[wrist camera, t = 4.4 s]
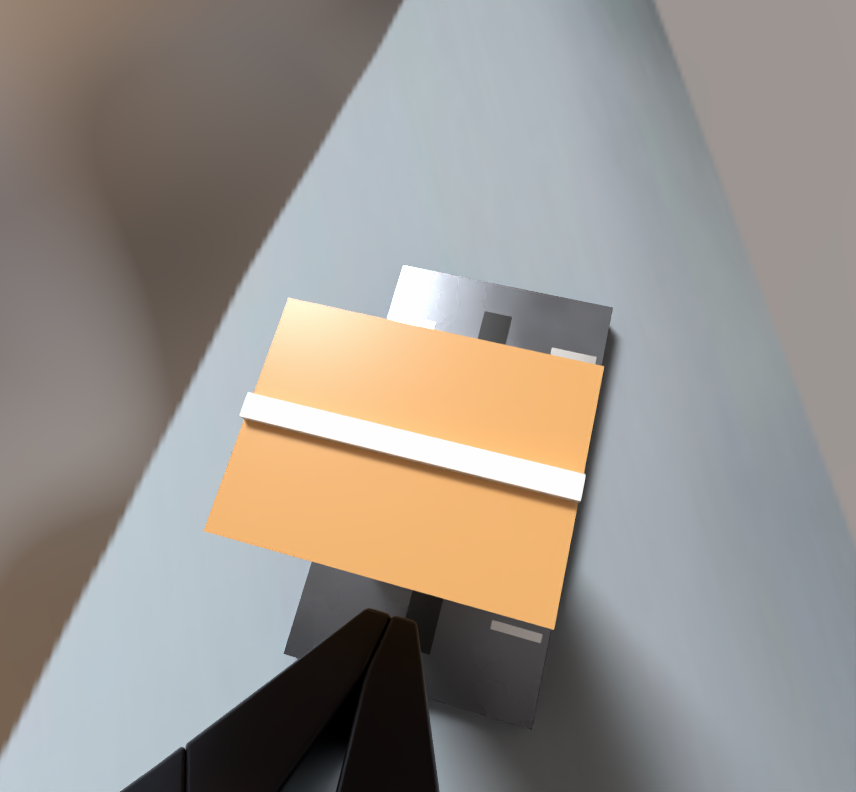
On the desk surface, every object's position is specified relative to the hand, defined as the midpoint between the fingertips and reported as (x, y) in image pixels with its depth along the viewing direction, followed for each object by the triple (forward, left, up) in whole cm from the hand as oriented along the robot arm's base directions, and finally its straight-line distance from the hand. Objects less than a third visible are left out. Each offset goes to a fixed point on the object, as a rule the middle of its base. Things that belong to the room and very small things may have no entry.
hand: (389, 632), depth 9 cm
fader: (+2, +1, -7) cm, 8 cm away
